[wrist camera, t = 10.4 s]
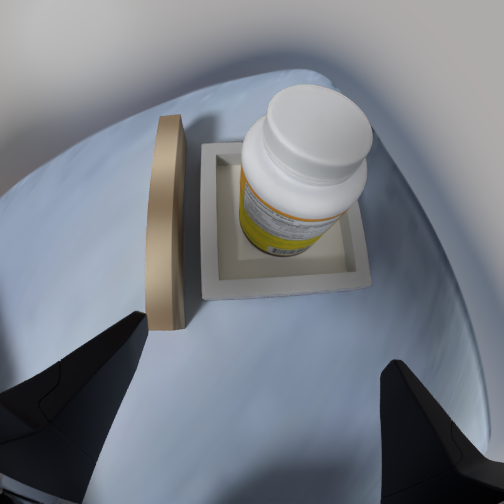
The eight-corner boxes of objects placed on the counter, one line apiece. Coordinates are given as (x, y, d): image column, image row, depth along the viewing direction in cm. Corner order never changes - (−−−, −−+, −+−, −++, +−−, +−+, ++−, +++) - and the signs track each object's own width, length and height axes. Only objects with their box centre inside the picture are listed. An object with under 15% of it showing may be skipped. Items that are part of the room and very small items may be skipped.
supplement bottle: (278, 170, 19) (311, 58, 9) (334, 223, 18) (414, 138, 9) (220, 217, 18) (209, 108, 8) (279, 278, 17) (336, 222, 7)
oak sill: (185, 328, 17) (173, 330, 13) (162, 328, 16) (146, 330, 13) (186, 142, 20) (180, 114, 17) (168, 144, 20) (159, 116, 16)
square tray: (358, 289, 18) (371, 285, 16) (205, 300, 17) (202, 298, 15) (335, 159, 20) (344, 145, 19) (204, 159, 20) (201, 144, 18)
